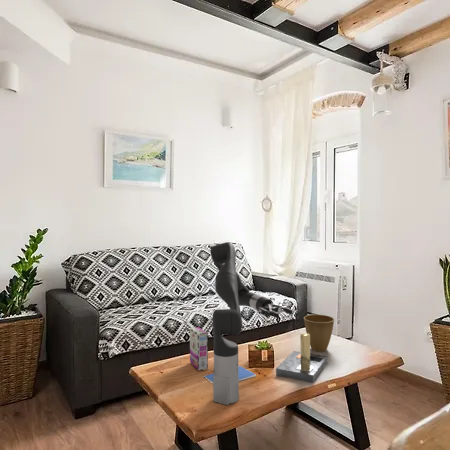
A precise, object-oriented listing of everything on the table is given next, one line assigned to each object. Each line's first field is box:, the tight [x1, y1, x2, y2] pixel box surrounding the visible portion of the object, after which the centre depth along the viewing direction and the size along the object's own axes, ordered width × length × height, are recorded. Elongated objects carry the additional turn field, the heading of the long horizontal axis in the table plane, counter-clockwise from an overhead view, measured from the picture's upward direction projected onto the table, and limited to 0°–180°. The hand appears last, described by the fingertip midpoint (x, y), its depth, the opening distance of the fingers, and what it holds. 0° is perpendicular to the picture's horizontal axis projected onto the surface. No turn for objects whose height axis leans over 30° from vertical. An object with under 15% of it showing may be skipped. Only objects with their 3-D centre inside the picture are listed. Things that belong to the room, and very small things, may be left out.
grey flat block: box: [275, 350, 328, 384], centre depth 169 cm, size 24×16×3 cm, turn 152°
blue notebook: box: [203, 365, 257, 384], centre depth 162 cm, size 19×13×1 cm, turn 123°
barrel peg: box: [299, 333, 311, 369], centre depth 162 cm, size 4×4×14 cm
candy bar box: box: [189, 326, 209, 371], centre depth 174 cm, size 11×5×16 cm, turn 25°
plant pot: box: [303, 313, 335, 353], centre depth 194 cm, size 15×15×16 cm
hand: (285, 314), depth 171 cm, fingers open, 8 cm apart
